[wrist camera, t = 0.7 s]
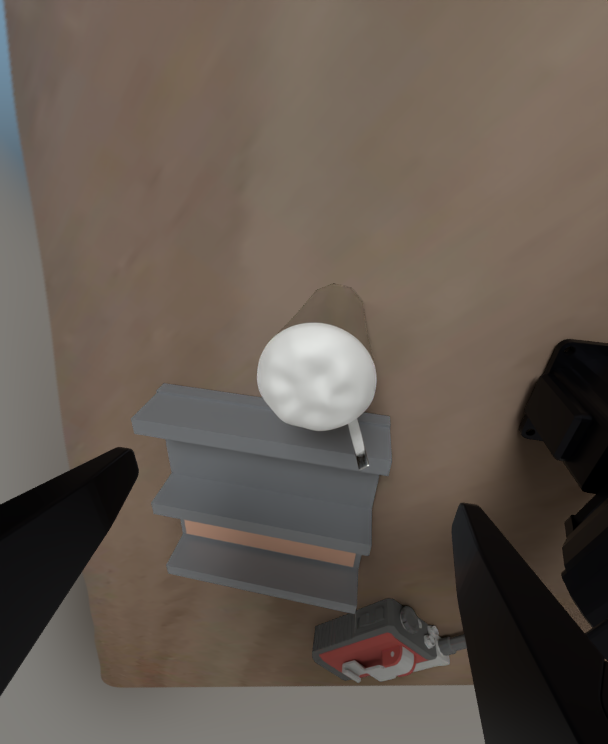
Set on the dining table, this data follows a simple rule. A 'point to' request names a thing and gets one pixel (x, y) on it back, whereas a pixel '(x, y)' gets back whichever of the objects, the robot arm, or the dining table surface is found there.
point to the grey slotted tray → (265, 495)
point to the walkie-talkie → (381, 643)
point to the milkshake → (322, 366)
